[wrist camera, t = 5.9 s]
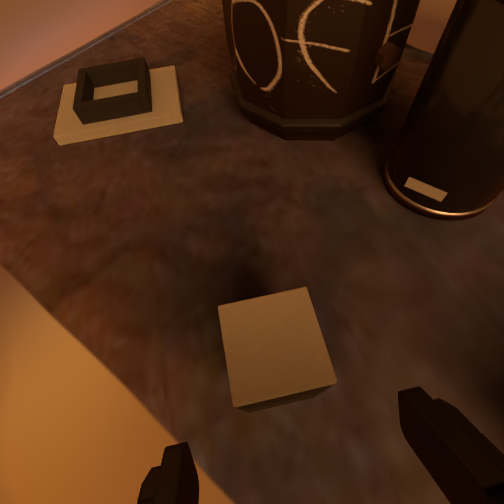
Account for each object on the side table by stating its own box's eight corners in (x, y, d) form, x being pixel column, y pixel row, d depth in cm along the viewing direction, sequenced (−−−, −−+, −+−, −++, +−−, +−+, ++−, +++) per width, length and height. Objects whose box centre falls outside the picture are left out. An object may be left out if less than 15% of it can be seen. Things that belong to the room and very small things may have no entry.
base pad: (176, 74, 39) (169, 47, 36) (183, 122, 34) (175, 95, 31) (69, 94, 38) (53, 68, 35) (59, 145, 33) (40, 120, 30)
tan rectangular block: (296, 330, 21) (306, 285, 14) (314, 397, 19) (338, 382, 12) (235, 343, 21) (217, 305, 14) (248, 413, 19) (232, 407, 12)
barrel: (289, 178, 29) (304, -44, 15) (207, 89, 37) (168, -108, 23) (427, 108, 32) (539, -121, 19) (324, 41, 40) (350, -152, 27)
